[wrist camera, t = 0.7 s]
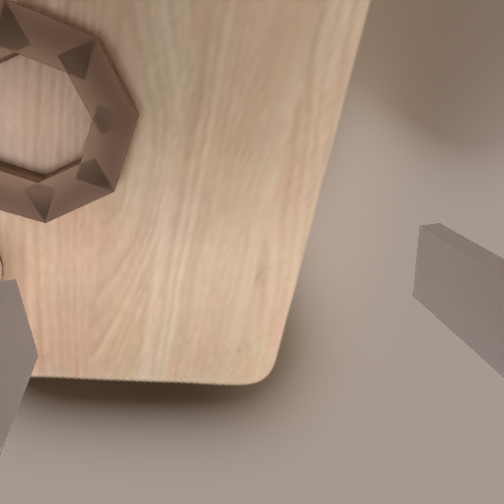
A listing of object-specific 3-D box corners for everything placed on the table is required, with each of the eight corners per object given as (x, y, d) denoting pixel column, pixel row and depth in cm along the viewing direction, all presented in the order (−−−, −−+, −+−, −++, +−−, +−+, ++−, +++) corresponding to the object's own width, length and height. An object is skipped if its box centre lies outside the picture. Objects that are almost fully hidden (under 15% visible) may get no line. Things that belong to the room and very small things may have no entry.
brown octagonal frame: (-120, 61, 32) (-140, 61, 30) (69, -22, 32) (63, -28, 30) (5, 234, 38) (-4, 245, 36) (162, 162, 39) (162, 169, 36)
